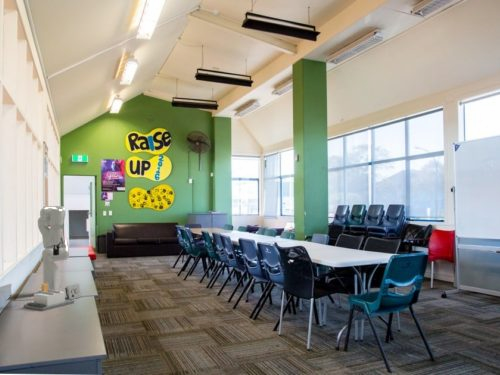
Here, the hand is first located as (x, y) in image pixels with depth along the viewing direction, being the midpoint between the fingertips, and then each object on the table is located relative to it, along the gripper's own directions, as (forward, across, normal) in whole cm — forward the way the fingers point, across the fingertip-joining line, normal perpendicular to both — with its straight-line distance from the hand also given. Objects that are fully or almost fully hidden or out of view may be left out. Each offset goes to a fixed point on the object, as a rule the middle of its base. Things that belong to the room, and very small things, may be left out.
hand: (56, 255), depth 269 cm
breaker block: (+29, +10, -12) cm, 33 cm away
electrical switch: (+29, +8, +7) cm, 31 cm away
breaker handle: (+22, +6, -12) cm, 25 cm away
